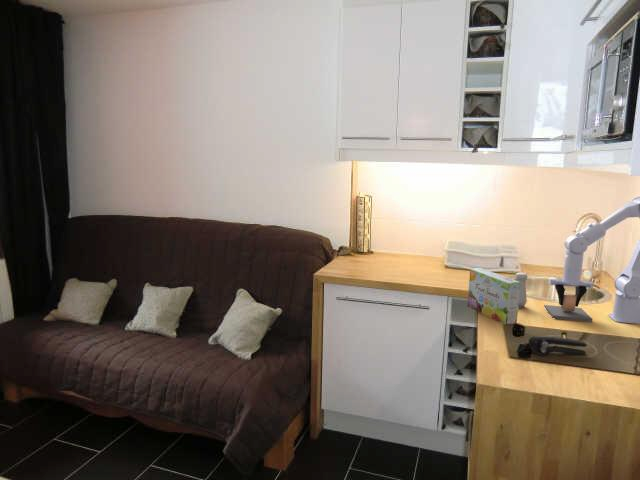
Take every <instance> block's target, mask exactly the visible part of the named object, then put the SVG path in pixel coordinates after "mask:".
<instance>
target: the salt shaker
mask: <svg viewBox="0 0 640 480" xmlns="http://www.w3.org/2000/svg"><path fill="white" fill-rule="evenodd" d="M515 279H516V281H518V282H520V293H519V303H518V309H519V308H521V309H522V308H524V307H525V306H526V304H527V302H528V301H527V288H526V281H527V280H528V274H527V273H525V272H516V273H515Z"/></svg>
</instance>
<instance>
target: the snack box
mask: <svg viewBox="0 0 640 480" xmlns="http://www.w3.org/2000/svg"><path fill="white" fill-rule="evenodd" d="M468 280H469V281H468V282H469V283H468V294H467V295H468V297H467V308H470V309H472V310H474V311H477V312H478V313H480V314H481V315H484V316H487V318H490V319H492V320H494V321H496V322H498V323H500V324H503V325H504V326H507V325H514V324H515V323H516V324H517V322H518V312H519V307H518V303H519V293H520V282H518V281H516V280H517V279H516V280H515V279H512V278H511V277H510V278H509V277H506V276H503V275H502V274H499V273H495V272H493V271H490V270H487V269H486V268H485V269H484V268H482V267H476V268H469V279H468ZM516 324H515V325H516Z"/></svg>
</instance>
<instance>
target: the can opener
mask: <svg viewBox="0 0 640 480" xmlns="http://www.w3.org/2000/svg"><path fill="white" fill-rule="evenodd" d="M550 345H553V346H550ZM557 345H560V346H557ZM524 346H526V347H529V348H530V349H531V350H530V351H531V352H533V353H535V354H536V355H539V356H547V355H549V354H551V353H563V354H567V355H574V356H584V355H586V351H585V350H584V349H578V348H572V347H581V348H583V347H584V348H585V347H587V346H588V344H587V343H586V342H584V341H580V340H575V339H570V338H569V339H568V338H564V337H553V336H552V335H548V336H531V337H530V338H529V339H528V341H527V342H524V343H523V347H524ZM565 346H572V347H565Z"/></svg>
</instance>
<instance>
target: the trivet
mask: <svg viewBox="0 0 640 480" xmlns="http://www.w3.org/2000/svg"><path fill="white" fill-rule="evenodd" d="M544 307H545V308H546V310H547V311H548V312H549V313H548V312H547V311H546V310H545V311H546V312H547V313H548V314H550V315H551V316H552V317H551V316H550V315H549V316H550V317H551V319H553V318H557V319H556V320H562V319H566V320H565V321H573V322H574V321H575V322H576V321H577V322H587V323H588V322H589V323H593V317H591V316H590V315H589V314H588V313H587V312H586V311H585V310H584V309H583V308H582V307H575V311H565V310H562V309H561V305H552V304H551V305H549V304H544V305H543V308H544Z"/></svg>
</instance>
